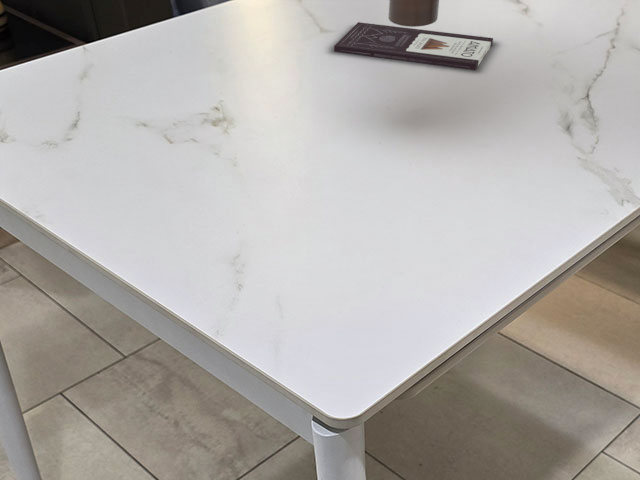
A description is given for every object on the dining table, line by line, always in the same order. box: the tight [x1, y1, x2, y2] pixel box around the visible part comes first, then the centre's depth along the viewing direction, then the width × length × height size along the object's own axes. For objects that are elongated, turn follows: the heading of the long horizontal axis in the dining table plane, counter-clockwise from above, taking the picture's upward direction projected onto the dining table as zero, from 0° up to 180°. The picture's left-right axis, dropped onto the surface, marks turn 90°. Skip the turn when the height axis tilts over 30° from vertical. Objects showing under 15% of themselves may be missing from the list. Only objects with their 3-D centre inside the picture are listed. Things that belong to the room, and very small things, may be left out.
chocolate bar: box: [333, 21, 494, 71], centre depth 108 cm, size 9×1×18 cm
